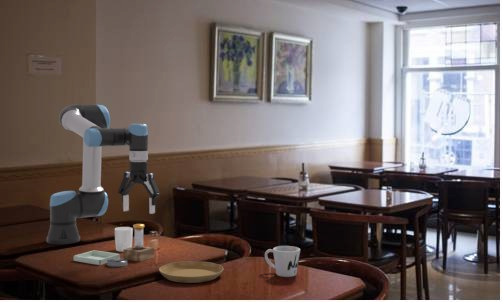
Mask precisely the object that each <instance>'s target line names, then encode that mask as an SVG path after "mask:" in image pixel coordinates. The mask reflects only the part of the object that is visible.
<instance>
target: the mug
mask: <svg viewBox="0 0 502 302" xmlns="http://www.w3.org/2000/svg"><path fill="white" fill-rule="evenodd" d="M269 253H273V260H274V263H272V262H271V261H270V259H269V257H268V254H269ZM300 254H301V248H299V247H297V246H292V245H291V246H290V245H278V246H275V247H273V249H271V248H269V249H267V250H266V251H265V252H264V259H265V261H266V263H267V264H268V266H270V267H271V268H272V269H275V273H276V275H277V276H279V277H282V278H283V277H284V278H292V277H295V276H297V272H298V265H299V260H300Z"/></svg>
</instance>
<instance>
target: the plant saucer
mask: <svg viewBox="0 0 502 302" xmlns="http://www.w3.org/2000/svg"><path fill="white" fill-rule="evenodd" d="M158 270H159V273H160V274H161V275H162V277H163V278H164V279H166V280H169V281H171V282H176V283H182V284H183V283H184V284H197V283H205V282H211V281H213V280H215V279H216V278H218V277H219V276H220V275H221V274H222V273H223V271H224V267H223V265H221V264H218V263H215V262H210V261H195V260H193V261H191V260H188V261H186V260H185V261H176V262H175V261H174V262H169V263H166V264H164V265H162V266H160V267H159V268H158Z"/></svg>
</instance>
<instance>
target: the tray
mask: <svg viewBox="0 0 502 302" xmlns="http://www.w3.org/2000/svg"><path fill="white" fill-rule="evenodd" d="M115 258H120V259H121V254H120V253H116V252H110V251H109V252H108V251H101V250H95V249H93V250H90V251H87V252H86V251H85V252H82V253H78V254H75V255H73V262H78V263H85V264H90V265H97V266H102V265H107V261H108V260H110V259H115Z"/></svg>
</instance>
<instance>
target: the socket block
mask: <svg viewBox="0 0 502 302" xmlns="http://www.w3.org/2000/svg"><path fill="white" fill-rule="evenodd" d="M153 258H155V247H150V246H145V245H143V250H135V245H134V246H133V245H132V247H130V248H127V249H123V257H122V259H127V260H128V261H133V262H143V261H148V260H149V259H153Z"/></svg>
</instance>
